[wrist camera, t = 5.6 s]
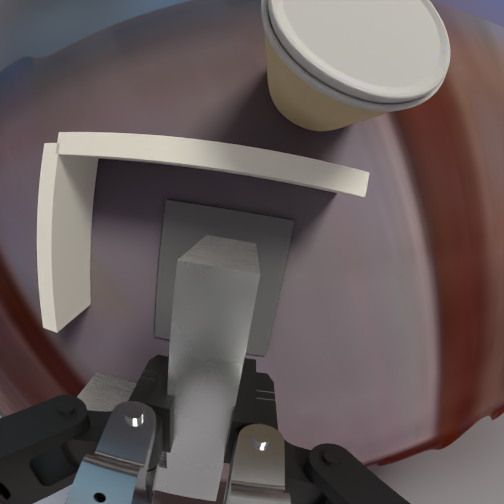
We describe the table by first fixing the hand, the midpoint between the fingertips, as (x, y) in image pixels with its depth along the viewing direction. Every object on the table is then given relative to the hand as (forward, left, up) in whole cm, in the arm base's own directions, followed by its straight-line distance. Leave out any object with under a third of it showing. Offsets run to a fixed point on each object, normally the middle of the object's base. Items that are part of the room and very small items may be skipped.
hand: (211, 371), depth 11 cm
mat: (-1, -1, -13) cm, 13 cm away
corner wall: (-4, +2, -13) cm, 14 cm away
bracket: (-3, 0, -2) cm, 3 cm away
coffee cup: (+4, +16, -13) cm, 21 cm away
